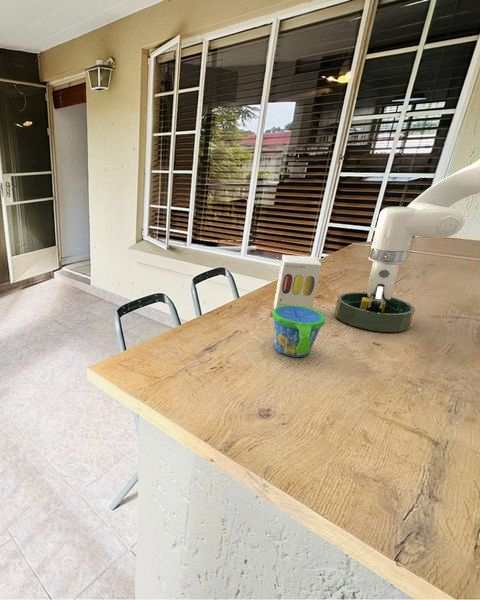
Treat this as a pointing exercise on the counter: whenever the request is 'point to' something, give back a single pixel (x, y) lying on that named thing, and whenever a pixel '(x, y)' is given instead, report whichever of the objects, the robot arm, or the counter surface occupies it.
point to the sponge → (366, 302)
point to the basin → (374, 313)
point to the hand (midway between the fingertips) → (370, 315)
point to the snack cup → (296, 329)
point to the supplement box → (297, 281)
